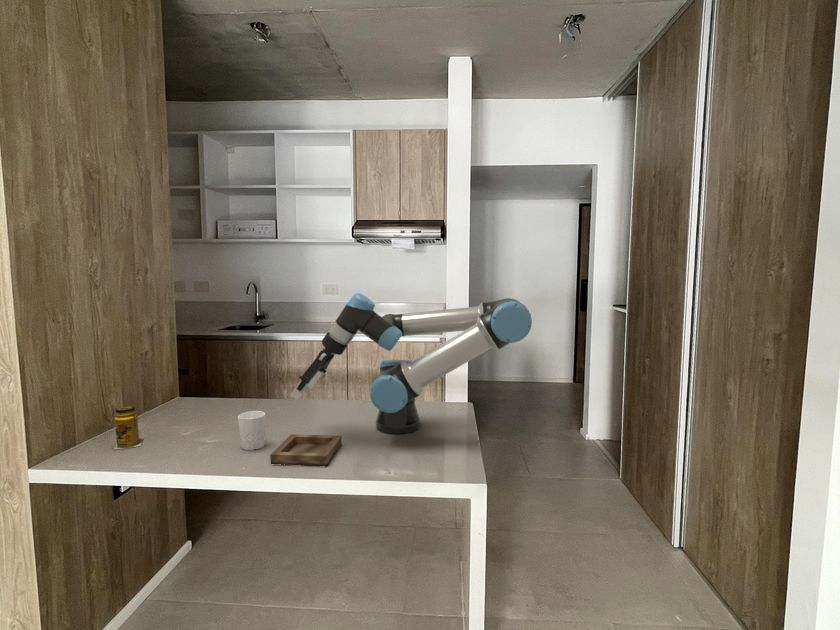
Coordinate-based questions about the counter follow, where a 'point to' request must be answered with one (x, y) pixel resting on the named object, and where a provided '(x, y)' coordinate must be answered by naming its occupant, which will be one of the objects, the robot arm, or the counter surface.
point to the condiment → (127, 428)
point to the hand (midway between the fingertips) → (301, 391)
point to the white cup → (252, 429)
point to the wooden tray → (306, 450)
